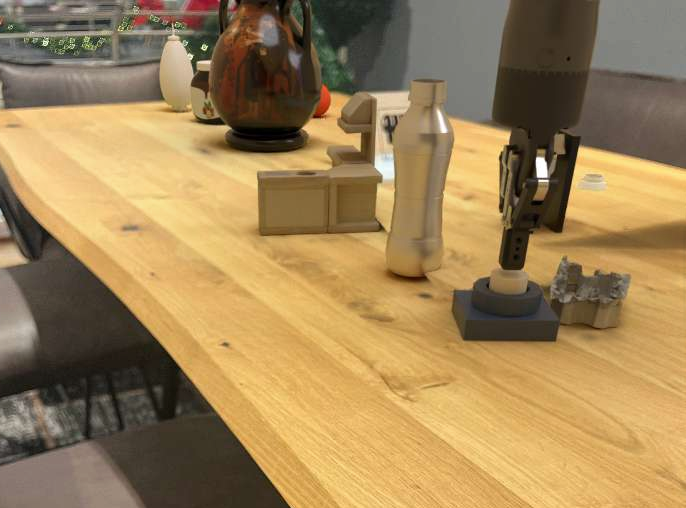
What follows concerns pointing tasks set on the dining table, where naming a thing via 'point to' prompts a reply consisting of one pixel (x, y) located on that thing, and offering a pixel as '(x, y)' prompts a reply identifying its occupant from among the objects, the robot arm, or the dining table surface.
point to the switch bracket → (562, 183)
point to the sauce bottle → (175, 74)
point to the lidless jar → (592, 182)
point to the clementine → (323, 102)
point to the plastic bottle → (420, 181)
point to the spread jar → (203, 96)
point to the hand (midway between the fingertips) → (510, 267)
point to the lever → (559, 145)
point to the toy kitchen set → (327, 184)
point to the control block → (504, 314)
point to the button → (508, 281)
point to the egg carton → (587, 295)
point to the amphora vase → (265, 75)
